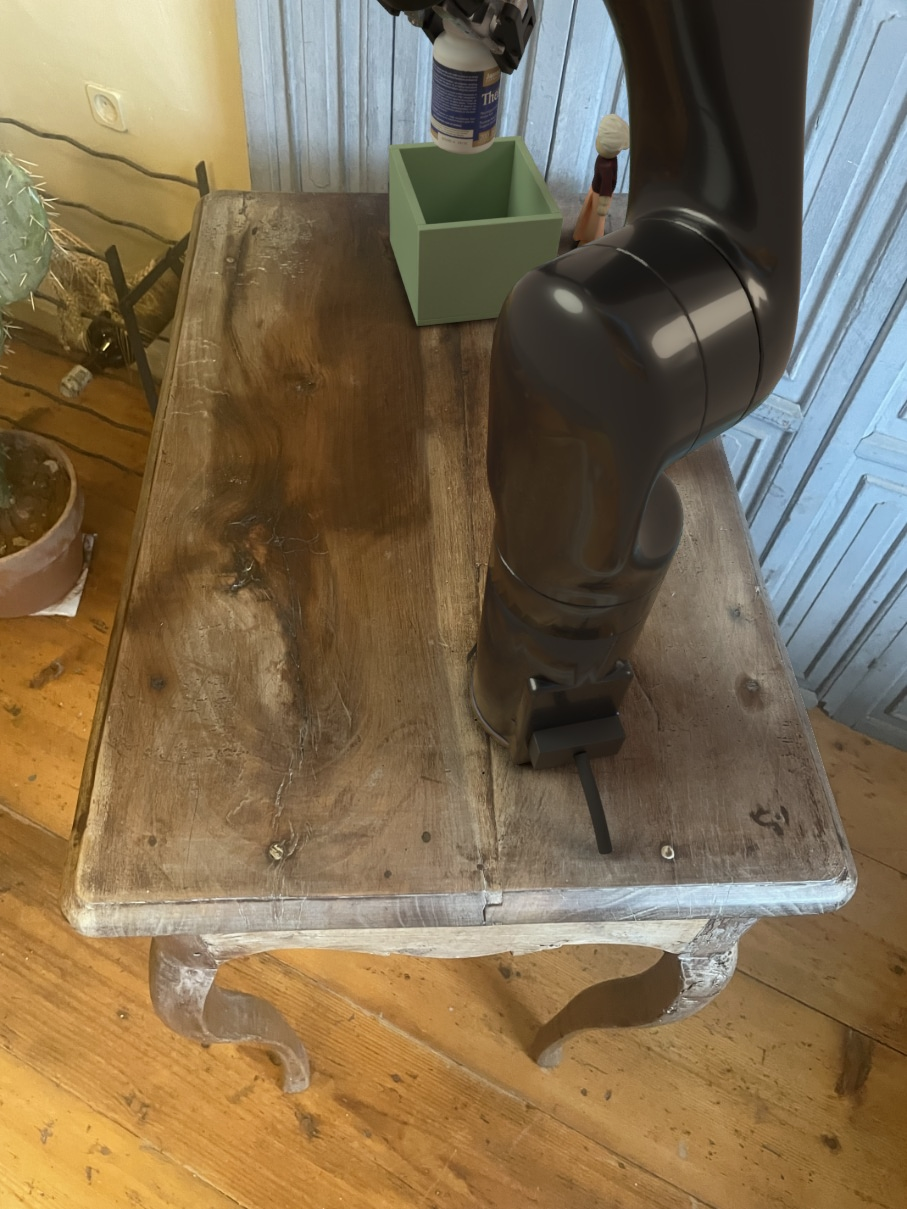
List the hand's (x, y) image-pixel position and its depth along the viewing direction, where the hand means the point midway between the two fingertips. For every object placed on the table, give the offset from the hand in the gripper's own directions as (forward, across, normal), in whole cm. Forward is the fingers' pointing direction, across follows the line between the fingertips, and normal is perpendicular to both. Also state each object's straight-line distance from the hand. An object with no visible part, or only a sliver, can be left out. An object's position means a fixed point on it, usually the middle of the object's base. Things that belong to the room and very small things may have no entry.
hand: (479, 49), depth 68 cm
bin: (+14, 0, +14) cm, 20 cm away
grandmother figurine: (+23, -8, +6) cm, 25 cm away
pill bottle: (+3, 0, +6) cm, 7 cm away
